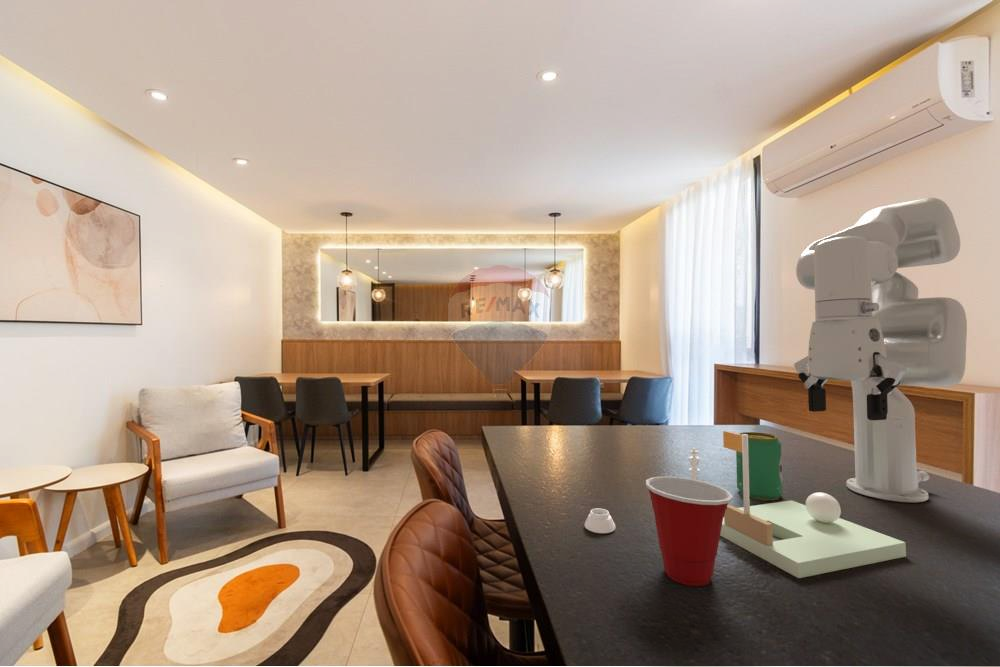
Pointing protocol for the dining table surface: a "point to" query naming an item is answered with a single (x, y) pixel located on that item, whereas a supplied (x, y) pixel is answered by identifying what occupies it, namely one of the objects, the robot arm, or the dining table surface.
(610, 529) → the white jar
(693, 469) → the chess piece
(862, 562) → the green
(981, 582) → the dining table surface
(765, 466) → the beverage can
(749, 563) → the dining table surface
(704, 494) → the plastic cup
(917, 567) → the dining table surface
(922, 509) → the dining table surface
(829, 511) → the white egg
